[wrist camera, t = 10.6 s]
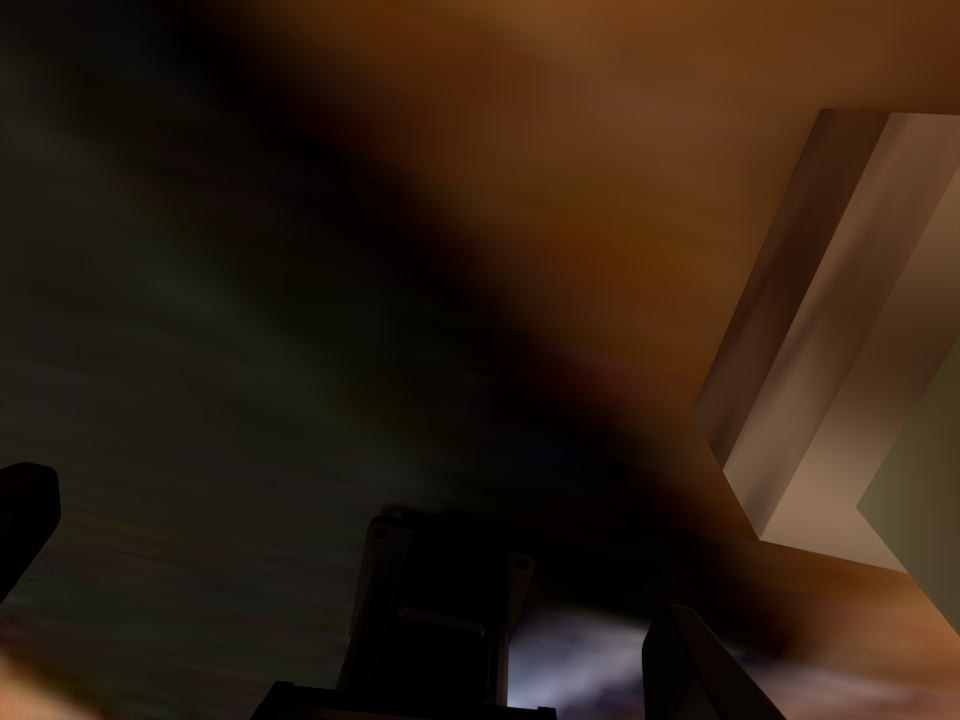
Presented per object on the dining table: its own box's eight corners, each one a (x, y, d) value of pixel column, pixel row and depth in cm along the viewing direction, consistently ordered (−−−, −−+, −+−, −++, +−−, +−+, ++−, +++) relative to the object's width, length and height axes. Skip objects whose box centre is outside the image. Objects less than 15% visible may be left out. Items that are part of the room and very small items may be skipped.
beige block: (910, 463, 21) (1063, 608, 15) (691, 413, 21) (759, 540, 15) (1091, 175, 17) (1400, 218, 11) (820, 109, 17) (985, 116, 11)
